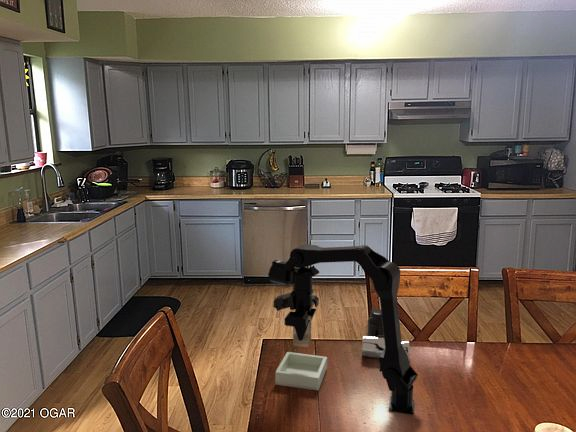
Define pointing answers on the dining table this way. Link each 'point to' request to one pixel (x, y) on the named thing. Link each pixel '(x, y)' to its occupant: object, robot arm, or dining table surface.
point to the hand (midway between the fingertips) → (302, 336)
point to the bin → (301, 371)
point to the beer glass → (377, 346)
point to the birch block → (306, 338)
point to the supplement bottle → (375, 324)
